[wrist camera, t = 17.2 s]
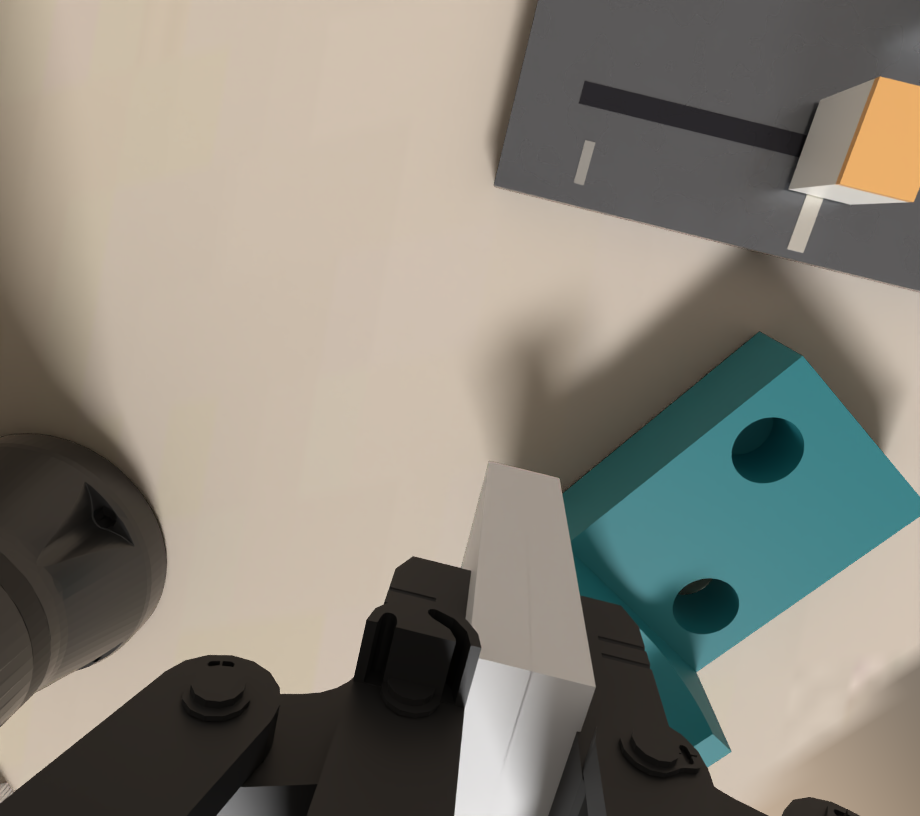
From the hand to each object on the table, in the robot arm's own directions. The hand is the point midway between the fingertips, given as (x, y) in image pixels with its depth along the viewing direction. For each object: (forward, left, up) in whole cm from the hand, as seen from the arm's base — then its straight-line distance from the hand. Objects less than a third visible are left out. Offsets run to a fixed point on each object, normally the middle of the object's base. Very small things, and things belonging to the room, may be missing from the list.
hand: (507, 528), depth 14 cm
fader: (+12, +12, -22) cm, 28 cm away
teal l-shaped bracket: (+12, -7, -25) cm, 28 cm away
